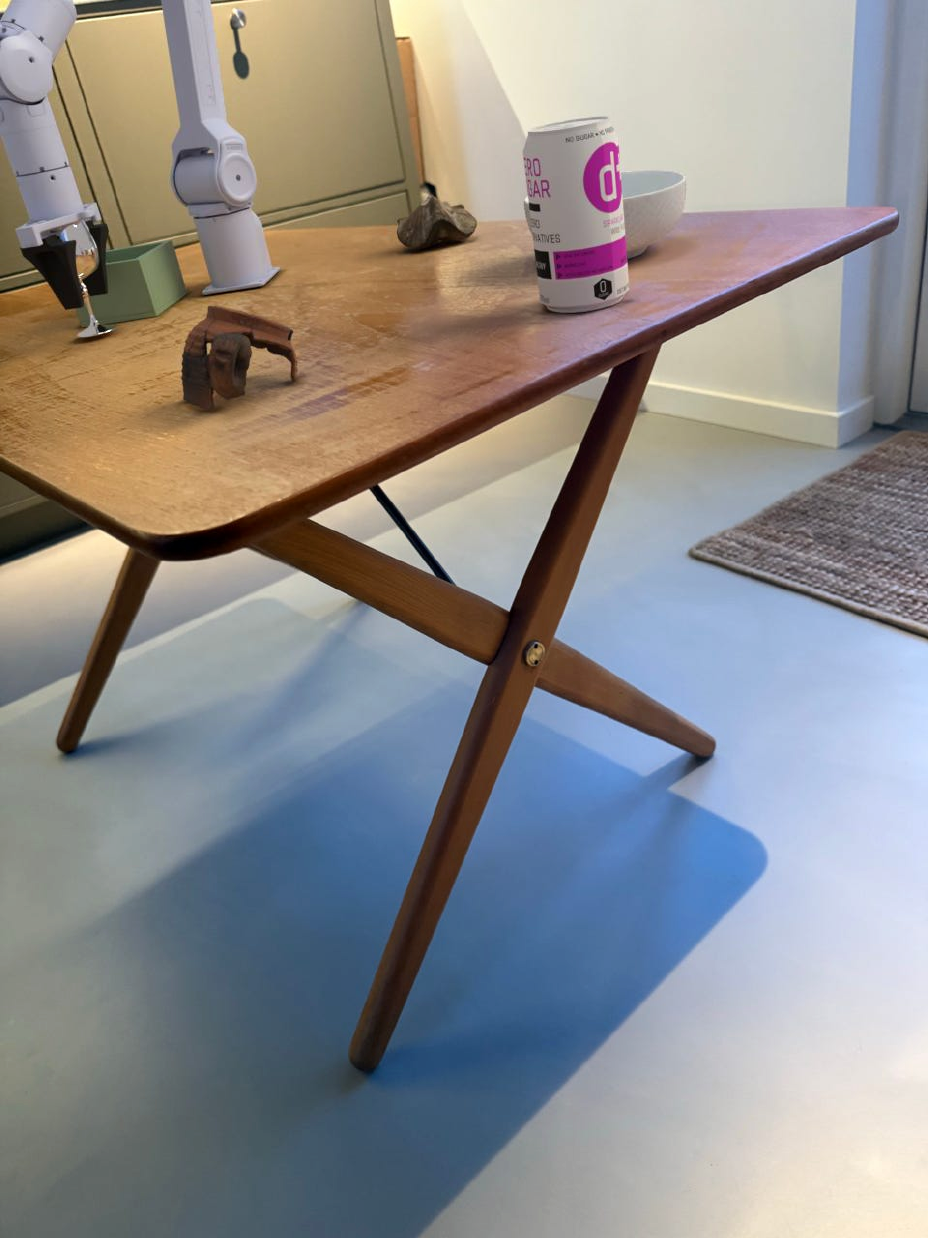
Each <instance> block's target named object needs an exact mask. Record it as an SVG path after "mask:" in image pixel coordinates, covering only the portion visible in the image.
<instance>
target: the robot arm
mask: <svg viewBox="0 0 928 1238" xmlns="http://www.w3.org/2000/svg"><path fill="white" fill-rule="evenodd" d="M211 2H212V1H211V0H160V4H161V9H162V15H163V21H164V22H163V23H164V29H165V34H166V35H165V36H166V41H167V49H168V53H169V60H170V66H171V74H172V80H173V87H174V93H175V99H176V105H177V106H176V107H177V112H178V119H179V128H178V130H177V132H176V135H175V136H174V138H173V141H172V143H171V147H170V148H171V151H172V164H171V169H170V173H169V179H170V180H169V183H170V187H171V190H172V192H173V195H174V197H175V199H177V201H178V202H179V203H180V204H181V205H183V206H184V207H185V208H187V211H188V215H189V216H191V217H193V222H194V227H195V231H196V234H197V237H198V241H199V244H200V249H201V251H202V255H203V259H204V262H205V265H206V270H207V274H208V277H209V280H210V284H209V285H208V286H207V287H205V288H204V289H203V290H201V293H202V295H203V296H205V295H212V294H218V293H219V294H220V293H225V292H232V291H238V290H246V289H252V288H258V287H262V286H265V285H266V284H267V283H268V282H269V281H270V280H271V279H272V278H273V277H274V276H275V275H276V274H277V273H279V272H280V270H281V268H280V266H273V265H272V261H271V257H270V253H269V249H268V245H267V241H266V237H265V232H264V229H263V224H262V222H261V220H260V218H259V216H258V215H257V214H256V213H255V212H254V211H253V210H252V207H253V206H255V203H254V197H255V195H256V192H257V187H258V176H257V171H256V169H255V165H254V164H253V162H252V159H251V158H250V156H249V153H248V148H247V147H248V146H247V141H246V138H245V137H244V136H243V135H242V134H241V133H239V132H238V131H237V130H236V129H235V128H233V127H232V126H231V125H230V124H229V123H228V117H227V111H226V109H227V108H226V104H225V96H224V87H223V82H222V75H221V68H220V60H219V52H218V46H217V38H216V30H215V23H214V17H213V9H212V3H211ZM77 20H78V12H77V8H76V5H75V3H74V0H10V2H9V3H8V5H7V7H6V9H5V10H4V12H3V14H2V16H1V17H0V138H1V142H2V145H3V146H4V150H5V152H6V155H7V158H8V161H9V164H10V167H11V170H12V172H13V175H14V178H15V181H16V183H17V186H18V189H19V192H20V195H21V198H22V200H23V203H24V206H25V209H26V212H27V215H28V218H29V220H28V221H27V222H26V223H24V224H23V225H21V226H19V227H18V228H15V229H14V231H15V233H16V237H17V239H18V243H19V244H20V252H21V254H22V257H23V258H24V259H25V260H27V262H29V263H30V264H31V265H32V266H33V267H34V268H35V269H36V271H38V272H39V274H40V275H41V276H42V277H43V278H44V280H45V281H46V283H47V285H48V286H49V287H50V289H51V290H52V292H53V293H54V295H55V297H56V298H57V300H58V301H59V303H60V304H61V306H62V307H63V309H64V310H65V311H69V310H76V308H82V307H84V299H83V293H82V289H81V285H80V281H79V278H78V273H77V266H76V240H71V241H64V242H62V241H61V239H59V240H58V238H57V235H56V234H54V233H51V232H52V231H58V230H61V226H64V225H67V224H70V223H74V222H77V221H80V220H84V221H85V223H86V225H87V227H88V228H89V230H90V232H91V234H92V236H93V238H94V240H95V243H96V245H97V248H98V253H99V265H98V268H97V270H96V271H95V272H94V273H93V274H92V275H91V276H90V277H88V278H87V279H85V280H84V281H83V283H84V284H85V285H86V287H87V289H88V292H89V295H90V296H96V295H103V294H107V293H108V282H107V272H106V251H107V243H108V236H109V233H110V232H109V231H110V230H109V226H108V224H107V223H106V222H105V223H103V222H102V223H97V222H100V221H102V217H101V216H102V215H101V213H100V210H99V207H98V205H97V202H90V203H84V204H83V201H82V198H81V195H80V191H79V188H78V186H77V182H76V180H75V175H74V173H73V170H72V167H71V164H70V162H69V159H68V155H67V152H66V149H65V146H64V143H63V140H62V137H61V134H60V131H59V128H58V125H57V121H56V119H55V116H54V113H53V112H54V111H53V109H52V107H51V103H50V100H49V97H48V94H49V93H50V92H51V91H52V90H53V89H54V88H53V87H54V71H53V64H54V62H55V61H56V59H57V57H58V55H59V53H60V51H61V50H62V47H63V45H64V43H65V42H66V40H67V38H68V36H69V35H70V32H71V31H72V29H73V27H74V24H75V23H76V21H77ZM209 151H212V152H209ZM95 223H97V224H95Z"/></svg>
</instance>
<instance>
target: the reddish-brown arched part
mask: <svg viewBox="0 0 928 1238" xmlns="http://www.w3.org/2000/svg"><path fill="white" fill-rule="evenodd" d="M206 311H207V312H206V317H205V318H204V319H203V320H201V321H199V322H198V323H197V324H196V325H195V326H194V327H192V330H191V331H189V333H188V334H187V338H186V339H185V340H184V342H185V344H184V347H183V352H182V354H181V358H182V360H181V364H180V365H181V372H180V373H181V377H180V380H181V385H182V392H183V394H182V395H183V396H182V399H183V400H182V401H185V402H186V403H187V404H190V405H191V406H194V407H199V408H201V409H206V410H209V411H213V410H214V409H215V401H214V393H215V394H217V395H218V396H219V397H221V398H223V399H225V400H233V399H236V398H239V397H241V396H244V395H245V394H246V386H247V376H248V375H247V374H248V370H249V369H250V365H251V364H250V363H251V359H252V356H253V351H252V348H255V349H257V350H258V349H259V350H264V349H266V350H267V352H268V353H270V354H272V355H278V356H281V357H284V358H285V359H286V360H288V361H289V362H290V379H291V381H292V382H296V380H297V378H298V371H299V369H298V364H299V361H298V359H297V353H296V350H295V348H294V347H293V345H292V342H291V340H292V336H293V334H294V330H293V329H292V328H290V327H289V326H286V325H285V324H282V323H280V322H277V321H274V320H272V319H269V318H265V317H264V316H263V317H262V316H259V315H255V314H252V313H251V314H250V313H249V312H246V311H242V310H238V309H234V308H230V307H228V306H227V307H226V306H221V305H207V310H206ZM208 344H210V349H209V353H208Z"/></svg>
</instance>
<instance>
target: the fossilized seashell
mask: <svg viewBox="0 0 928 1238" xmlns="http://www.w3.org/2000/svg"><path fill="white" fill-rule="evenodd" d="M396 222H397V223H398V226H397V229H396V235H397V240H398V241H399V243H401V244H402V245H404V246H405V247H406V248H407V249H414V250H421V249H427V248H430V247H432V246H434V245H435V244H438V242H440V241H442V242H448V243H455V242H460V241H463V240H466V239H468V238H470V237H471V236H472V235H473V234H474V232H475V231H476V228H477V226H478V221H477V219H476V217H475V216H474V215H473V214H471V213H470V212H469V211H468V210H466V209H465V206H464V204H463V203H462V204H457V205H451V204H450V203H449V202H448V201H445V200H444V201H442V200H440V199H439V198H438V197H436V196H434V195H433V194H430V195H428V196H427V198H426V199H425V200H423V201H422V202H421V203H420V204H419V205H418V206H417V207H416V208H415V209H414V210H413V211H412V212H411V213H410V214H409V215H407V216H404V217H400V218H398V219H397V220H396Z"/></svg>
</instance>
